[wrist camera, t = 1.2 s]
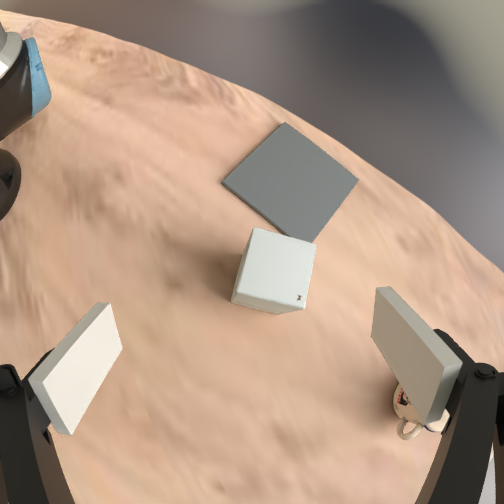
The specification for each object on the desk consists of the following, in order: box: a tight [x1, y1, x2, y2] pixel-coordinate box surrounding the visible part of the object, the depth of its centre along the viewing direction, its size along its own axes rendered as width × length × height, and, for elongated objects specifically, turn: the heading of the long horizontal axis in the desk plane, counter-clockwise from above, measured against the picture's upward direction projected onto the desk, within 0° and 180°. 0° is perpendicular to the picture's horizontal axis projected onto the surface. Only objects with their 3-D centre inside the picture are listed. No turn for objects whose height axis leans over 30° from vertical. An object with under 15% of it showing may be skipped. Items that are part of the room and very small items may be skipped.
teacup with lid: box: [393, 383, 450, 440], centre depth 37 cm, size 12×9×12 cm
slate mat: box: [222, 122, 359, 243], centre depth 48 cm, size 16×16×1 cm
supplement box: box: [231, 227, 316, 315], centre depth 38 cm, size 7×7×13 cm
